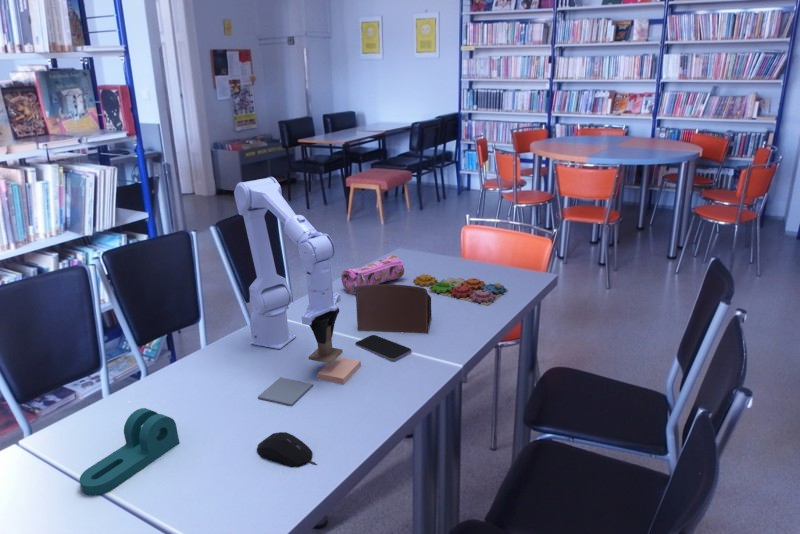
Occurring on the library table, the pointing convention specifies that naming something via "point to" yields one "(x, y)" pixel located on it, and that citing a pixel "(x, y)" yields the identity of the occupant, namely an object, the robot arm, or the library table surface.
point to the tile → (339, 370)
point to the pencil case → (373, 273)
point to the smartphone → (383, 347)
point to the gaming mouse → (285, 450)
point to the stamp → (326, 350)
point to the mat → (285, 391)
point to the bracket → (132, 451)
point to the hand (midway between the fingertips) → (324, 339)
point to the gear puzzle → (463, 289)
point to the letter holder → (393, 308)
